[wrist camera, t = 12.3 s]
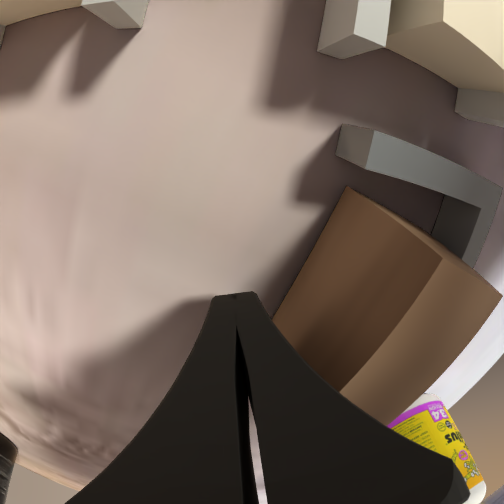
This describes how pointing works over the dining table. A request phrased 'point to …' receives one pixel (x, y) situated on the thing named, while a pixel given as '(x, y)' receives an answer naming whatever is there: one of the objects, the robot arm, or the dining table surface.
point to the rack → (371, 38)
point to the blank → (382, 307)
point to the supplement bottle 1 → (6, 465)
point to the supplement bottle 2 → (440, 439)
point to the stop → (430, 185)
